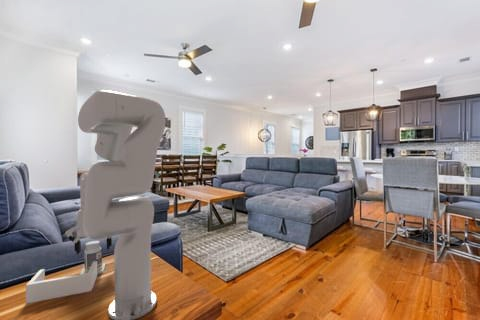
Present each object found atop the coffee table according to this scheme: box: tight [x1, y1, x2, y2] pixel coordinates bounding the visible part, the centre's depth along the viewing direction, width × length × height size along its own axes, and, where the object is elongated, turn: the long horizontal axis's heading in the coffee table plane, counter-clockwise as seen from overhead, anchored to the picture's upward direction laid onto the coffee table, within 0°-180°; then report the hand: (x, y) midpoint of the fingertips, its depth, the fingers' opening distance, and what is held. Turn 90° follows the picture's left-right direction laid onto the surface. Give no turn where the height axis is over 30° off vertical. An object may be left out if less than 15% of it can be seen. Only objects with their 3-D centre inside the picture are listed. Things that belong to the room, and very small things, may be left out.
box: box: [25, 261, 98, 304], centre depth 75 cm, size 10×16×6 cm, turn 113°
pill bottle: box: [83, 240, 103, 272], centre depth 87 cm, size 6×6×10 cm
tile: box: [79, 262, 107, 275], centre depth 87 cm, size 8×8×1 cm
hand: (93, 250), depth 87 cm, fingers open, 9 cm apart
